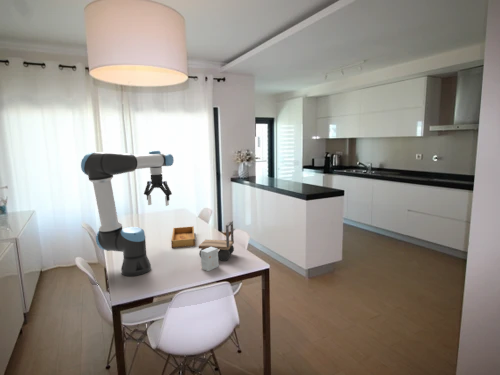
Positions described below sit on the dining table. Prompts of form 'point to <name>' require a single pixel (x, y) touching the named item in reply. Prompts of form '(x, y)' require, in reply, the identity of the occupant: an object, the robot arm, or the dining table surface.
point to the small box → (209, 258)
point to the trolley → (221, 244)
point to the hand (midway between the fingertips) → (158, 205)
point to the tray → (183, 237)
